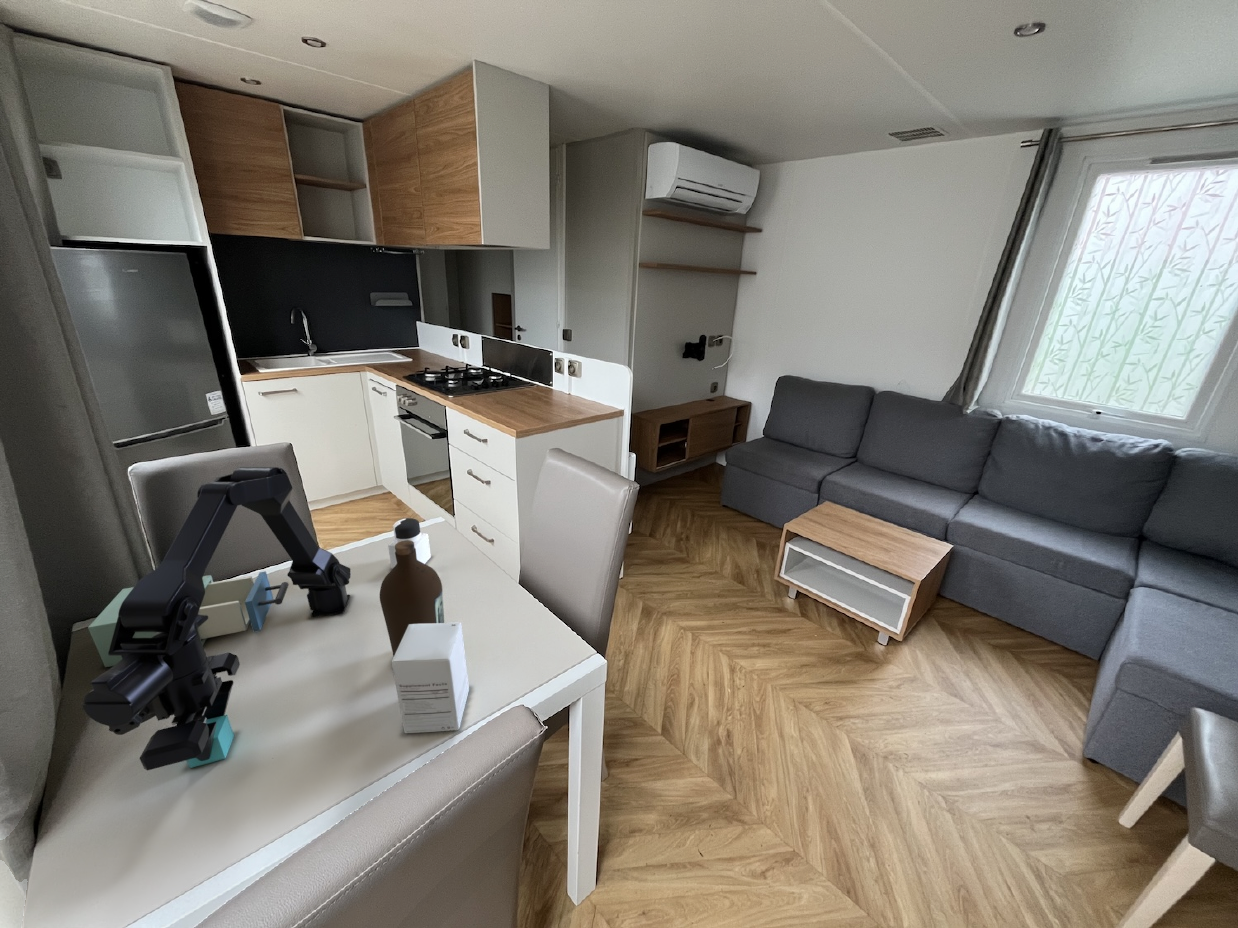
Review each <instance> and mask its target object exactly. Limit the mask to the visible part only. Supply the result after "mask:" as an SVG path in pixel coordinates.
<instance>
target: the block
mask: <svg viewBox="0 0 1238 928" xmlns="http://www.w3.org/2000/svg"><path fill="white" fill-rule="evenodd" d="M212 722H216V728H215V734H214V740H213V745H212V751H211V756H210V759H208V760H205V761H200V760H198V759H197V758H193V759H189V760H186V762H187V764H188V767H189V768H190V769H192V768H196V767H199V766H203V765H207V764H210V763H214V762H218V761H222V760H225V759H227V755H228V753H229V751H230V748H231V745H232V743H233V740H234V738H235V734H234V731H233V728H232V724H231V721H230V719H229V716H228V714H225V715H224V716H220V717H216V718H211V719H207V720H206V723H207V724H208V723H212Z"/></svg>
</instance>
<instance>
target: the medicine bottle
mask: <svg viewBox="0 0 1238 928" xmlns="http://www.w3.org/2000/svg"><path fill="white" fill-rule="evenodd" d="M392 530H393V535H394V536H393V537H394V539H393V540H392V541H391V542H390V543H389V544H388V545H387V549H388V555H389V560H390V567H391V570H392V569H393V568H394V567H395V566H396V564H397V561H396V555H395V552H396V550H395V545H396V544H397V543H398V542H401V541H405V540H410V541H413V542H414V548H415V549H416V557H417V560H418V561H420V562H422V563H424V564H427V562H428V561H429V560H430V559H431V557H432V554H431V547H430V540H429V538H430V537H429V534H428V533H424V532H423V533H422V532H421V526H420V521H419V520H418V519H416V518H411V517H406V518H402V519H398V520H397V521H396V522H394V524H392Z"/></svg>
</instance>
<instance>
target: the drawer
mask: <svg viewBox="0 0 1238 928" xmlns="http://www.w3.org/2000/svg"><path fill="white" fill-rule="evenodd" d="M289 585H290V584H289V582H287V581H284V582H281V584H276V585H272V586H271V584H270V581H269V578H268V574H267V571H266V570H265V571H260V572H259V573H258V575H257V576H256V578H255V581H254V579H253V576H252V575H250V576H243V577H237V578H231V579H225V580H218V581H213V582H212V583H208V585H207V586H206V588H205V595H204V598H203V601H202V604H201V607H200V609H199V612H198V615H207V616H208V620H207V621H205V622H204V623H203V624H202V625H201V626H200V627H199V628H198V629H197V630H198V632H199V635H200V638H201V639H204V638H207V639H209V638H214V637H219V636H224V635H230V634H234V633H239V632H245V631H247V630H248V627H249V625H251V629H252V632H253V633H257V632H261V630H262V628H263V625H264V623H265V620H266V619H267V616H268V613H269V610H270V609H271V606H272V604H275V605H281V604H283V601H284V598H285V595H286V593H287V591H288V588H289ZM274 590H278V591H277V592H276V593H277V594H276V596H275V598H274V596H273V593H272V591H274Z"/></svg>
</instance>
